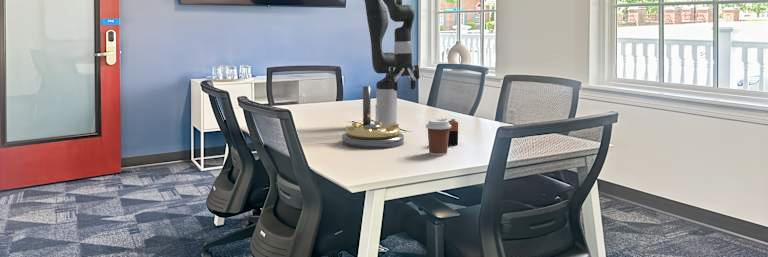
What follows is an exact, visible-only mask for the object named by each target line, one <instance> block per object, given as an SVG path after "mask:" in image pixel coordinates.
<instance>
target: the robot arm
mask: <svg viewBox="0 0 768 257" xmlns="http://www.w3.org/2000/svg"><path fill="white" fill-rule="evenodd" d="M364 4H365V6H364V7H365V12H366V20H367V26H368V31H369V38H370V48H371V61H372V62H371V63H372V68H373V70H374V72H375V73H376V74H385V76H384V78H383V79H381V80H379V81H377V82H376V85H375V86H376V92H375V93H376V100H375V101H376V102H375V103H376V104H375V122H376V121H379V122H382V124H383V125H391V124H398V123H397V121H398V118H397V117H398V115H397V113H398V112H397V111H398V109H397V108H398V104H397V103H398V87H399V86H398V82H399V78H401V77H408V78H409V79H410V89H411V90H415V89H416V81H417V80H419V79H420V66H419V65H418V64H414V65H413V46H412V29H413V24H414V21H415V20H414V19H415V9H414V8H413V7H414V6H412V5H410V4H403V0H364ZM387 10H388V12H387ZM388 14H389V18H390V20H392V21H393V22H396V23H397V22H398V23H402V22H403V24H402V25H401V26H400V27H396V28H395V30H394V45H393V46H394V47H393V48H394V52H383V45H382V44H383V38H384V36H385V34H386V33H387V30H388V26H389V18H388ZM412 70H413V72H412Z"/></svg>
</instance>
